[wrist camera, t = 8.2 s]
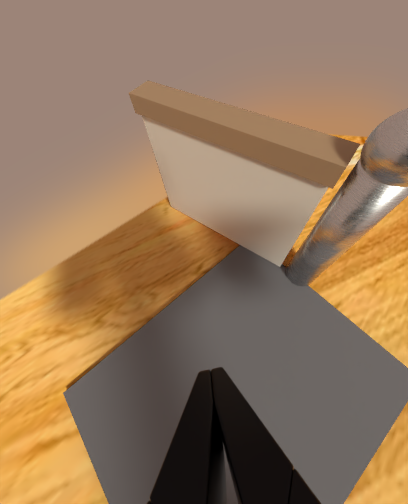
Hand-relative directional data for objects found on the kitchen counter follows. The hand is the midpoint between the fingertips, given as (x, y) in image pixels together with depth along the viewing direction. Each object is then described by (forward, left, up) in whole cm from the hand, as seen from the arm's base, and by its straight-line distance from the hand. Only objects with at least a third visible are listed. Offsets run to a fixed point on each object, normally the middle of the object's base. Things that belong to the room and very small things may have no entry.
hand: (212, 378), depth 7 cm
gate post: (+1, -11, -10) cm, 15 cm away
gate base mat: (-2, 0, -10) cm, 10 cm away
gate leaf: (+9, -9, -9) cm, 15 cm away
